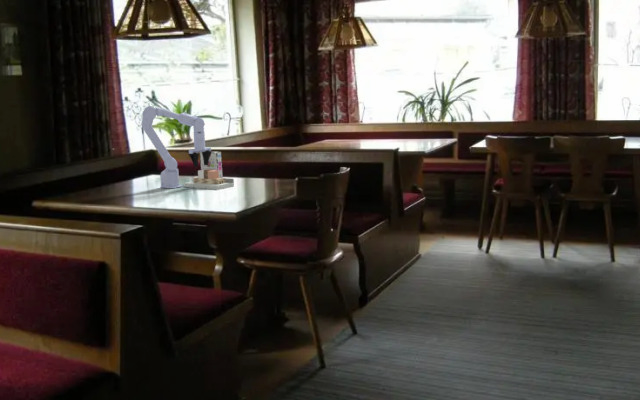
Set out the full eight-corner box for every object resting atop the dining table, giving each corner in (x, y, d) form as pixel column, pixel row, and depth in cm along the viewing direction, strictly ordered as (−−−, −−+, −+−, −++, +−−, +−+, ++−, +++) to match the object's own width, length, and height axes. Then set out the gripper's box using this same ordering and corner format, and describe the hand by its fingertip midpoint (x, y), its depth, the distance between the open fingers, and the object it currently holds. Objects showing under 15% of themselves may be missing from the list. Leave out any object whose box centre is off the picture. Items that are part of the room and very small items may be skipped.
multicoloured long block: (193, 182, 365) (192, 169, 363) (200, 181, 369) (199, 168, 368) (218, 184, 354) (217, 170, 353) (224, 183, 358) (224, 169, 357)
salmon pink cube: (208, 178, 359) (207, 171, 358) (213, 177, 362) (212, 170, 361) (213, 179, 356) (213, 171, 356) (219, 178, 360) (218, 170, 359)
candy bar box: (223, 180, 382) (221, 151, 380) (218, 182, 378) (217, 152, 375) (205, 180, 387) (204, 151, 384) (201, 181, 382) (199, 152, 379)
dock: (184, 186, 364) (184, 179, 363) (200, 183, 374) (200, 176, 373) (218, 189, 350) (217, 181, 350) (233, 186, 360) (233, 178, 359)
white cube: (198, 178, 363) (197, 170, 362) (203, 177, 366) (203, 169, 365) (203, 178, 360) (203, 170, 360) (209, 177, 364) (208, 169, 363)
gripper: (195, 141, 355) (196, 167, 358) (214, 139, 367) (216, 164, 369) (185, 141, 359) (187, 167, 362) (204, 139, 371) (206, 164, 373)
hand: (201, 165), depth 366 cm, fingers open, 7 cm apart
